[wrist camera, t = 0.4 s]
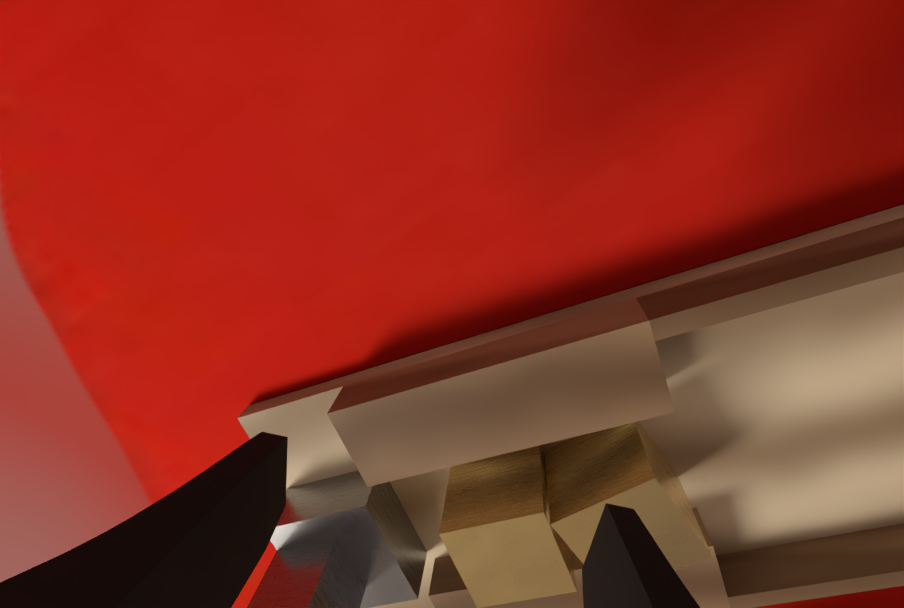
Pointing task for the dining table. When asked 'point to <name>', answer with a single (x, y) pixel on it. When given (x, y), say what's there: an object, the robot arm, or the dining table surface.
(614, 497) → the golden brown cube
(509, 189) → the dining table surface
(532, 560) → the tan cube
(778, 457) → the slot board
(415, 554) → the brushed metal block
